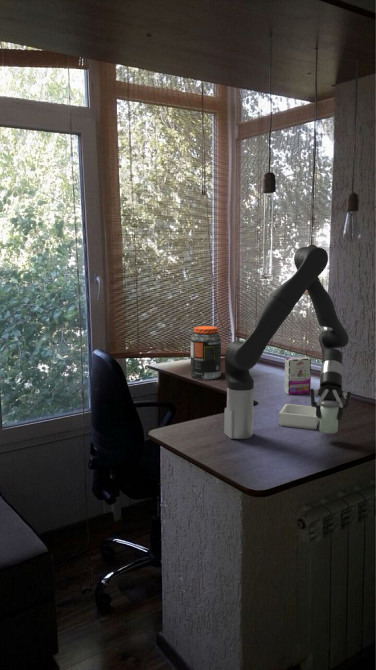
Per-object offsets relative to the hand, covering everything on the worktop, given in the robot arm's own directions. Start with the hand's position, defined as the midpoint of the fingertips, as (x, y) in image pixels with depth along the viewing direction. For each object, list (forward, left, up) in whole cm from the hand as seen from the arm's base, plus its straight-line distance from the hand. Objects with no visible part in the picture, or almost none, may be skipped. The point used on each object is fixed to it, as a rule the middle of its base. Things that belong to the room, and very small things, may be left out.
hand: (329, 418), depth 184 cm
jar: (+1, +1, -5) cm, 5 cm away
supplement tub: (-2, +107, -9) cm, 108 cm away
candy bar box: (+25, +62, -9) cm, 68 cm away
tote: (+3, +23, -9) cm, 25 cm away
